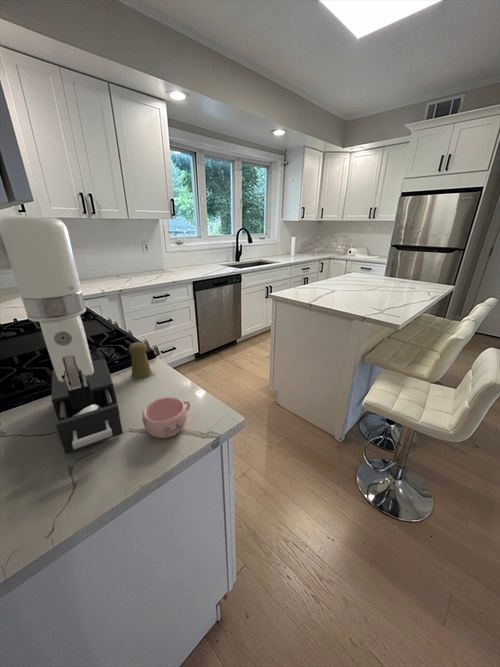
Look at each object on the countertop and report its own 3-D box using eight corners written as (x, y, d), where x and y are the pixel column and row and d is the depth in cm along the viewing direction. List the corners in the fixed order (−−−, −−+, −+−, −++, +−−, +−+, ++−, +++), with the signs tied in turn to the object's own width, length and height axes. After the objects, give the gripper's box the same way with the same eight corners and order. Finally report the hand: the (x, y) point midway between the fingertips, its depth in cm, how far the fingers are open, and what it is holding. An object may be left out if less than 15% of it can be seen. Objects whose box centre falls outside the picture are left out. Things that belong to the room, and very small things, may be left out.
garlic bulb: (79, 419, 67) (74, 401, 65) (105, 417, 68) (101, 399, 65) (68, 436, 62) (62, 416, 60) (97, 433, 62) (92, 414, 60)
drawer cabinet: (119, 415, 72) (113, 383, 68) (62, 433, 65) (51, 400, 61) (110, 386, 84) (104, 358, 80) (61, 399, 77) (52, 369, 74)
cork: (135, 381, 86) (130, 349, 82) (129, 373, 91) (124, 343, 86) (154, 375, 90) (150, 344, 86) (147, 367, 94) (143, 338, 90)
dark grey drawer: (127, 447, 60) (121, 419, 57) (66, 471, 54) (55, 440, 51) (113, 401, 75) (107, 376, 72) (63, 416, 70) (55, 390, 67)
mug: (159, 451, 61) (155, 429, 58) (137, 429, 67) (133, 409, 65) (202, 423, 69) (201, 404, 66) (179, 406, 75) (177, 388, 73)
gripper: (88, 313, 38) (113, 420, 45) (80, 291, 50) (101, 379, 57) (19, 323, 34) (58, 438, 41) (29, 297, 46) (58, 390, 53)
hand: (83, 404), depth 49 cm, fingers closed
